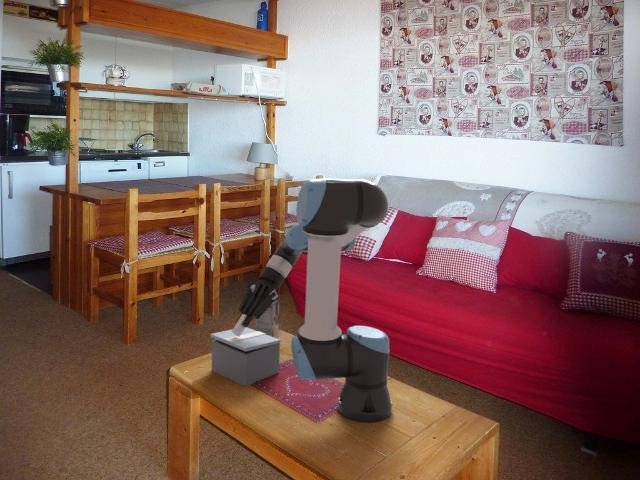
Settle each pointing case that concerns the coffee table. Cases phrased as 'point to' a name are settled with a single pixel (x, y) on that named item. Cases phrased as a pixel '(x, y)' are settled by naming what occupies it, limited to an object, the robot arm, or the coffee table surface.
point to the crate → (245, 362)
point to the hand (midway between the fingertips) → (235, 334)
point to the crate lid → (246, 339)
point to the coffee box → (270, 320)
